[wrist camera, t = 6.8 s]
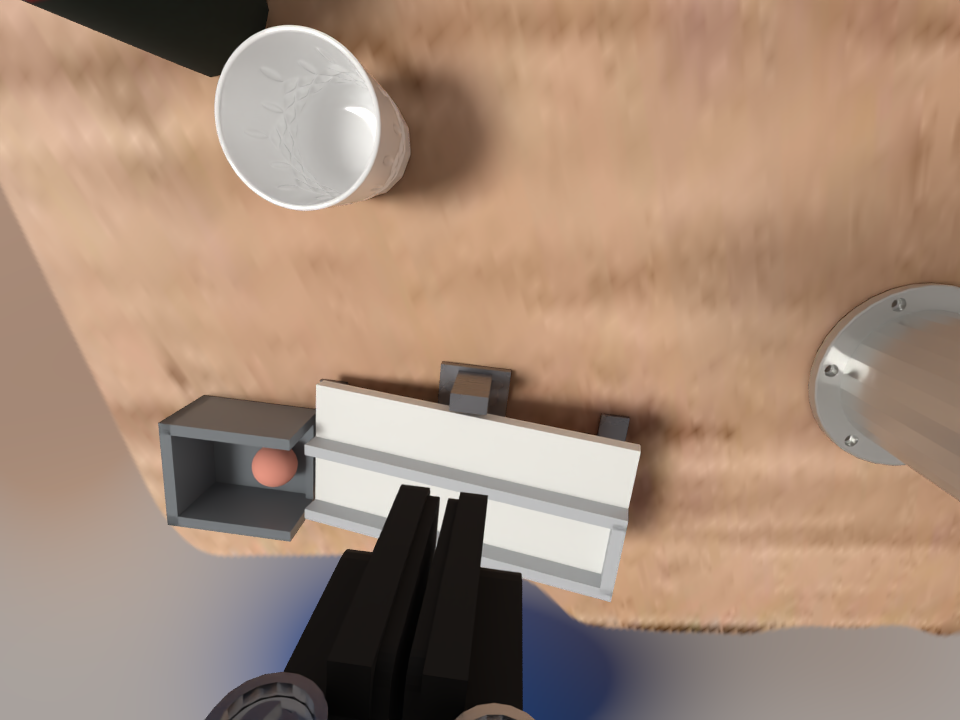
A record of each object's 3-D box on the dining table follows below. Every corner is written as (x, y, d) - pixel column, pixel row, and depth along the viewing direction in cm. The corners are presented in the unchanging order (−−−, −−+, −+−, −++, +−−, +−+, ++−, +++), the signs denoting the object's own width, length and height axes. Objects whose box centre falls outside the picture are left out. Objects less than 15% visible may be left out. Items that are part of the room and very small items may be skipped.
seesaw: (640, 444, 32) (641, 462, 30) (611, 577, 35) (610, 601, 33) (323, 380, 37) (304, 390, 35) (322, 501, 40) (304, 518, 38)
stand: (635, 384, 37) (653, 413, 32) (601, 549, 41) (612, 597, 36) (321, 347, 38) (291, 369, 33) (320, 511, 42) (293, 553, 37)
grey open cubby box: (318, 409, 39) (289, 439, 34) (317, 501, 42) (290, 541, 37) (203, 395, 40) (158, 423, 35) (209, 486, 42) (167, 524, 37)
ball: (242, 453, 37) (262, 433, 40) (244, 492, 38) (264, 470, 41) (287, 458, 37) (304, 438, 40) (287, 497, 38) (304, 475, 41)
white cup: (360, 46, 32) (291, -19, 22) (445, 150, 33) (415, 129, 24) (276, 138, 34) (180, 114, 24) (360, 232, 35) (301, 244, 26)
